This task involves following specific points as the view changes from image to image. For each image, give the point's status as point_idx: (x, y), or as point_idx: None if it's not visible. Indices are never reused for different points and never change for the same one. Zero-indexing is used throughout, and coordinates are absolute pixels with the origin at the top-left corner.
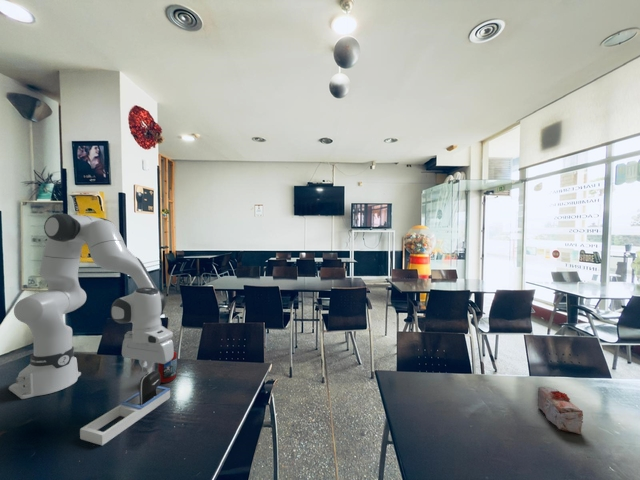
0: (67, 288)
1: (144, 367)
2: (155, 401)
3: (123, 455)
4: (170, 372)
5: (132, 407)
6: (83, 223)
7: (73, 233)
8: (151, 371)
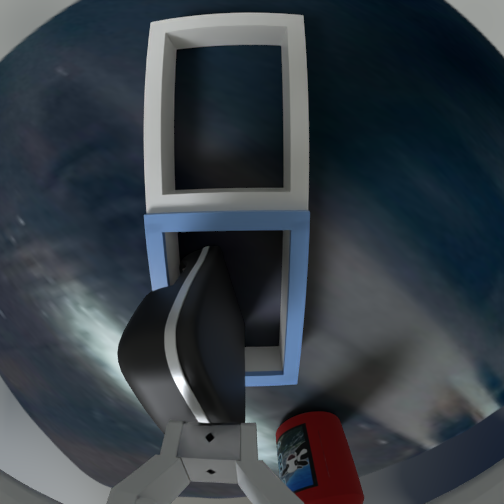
0: None
1: (222, 462)
2: None
3: (59, 59)
4: (283, 452)
5: (208, 210)
6: None
7: None
8: None
